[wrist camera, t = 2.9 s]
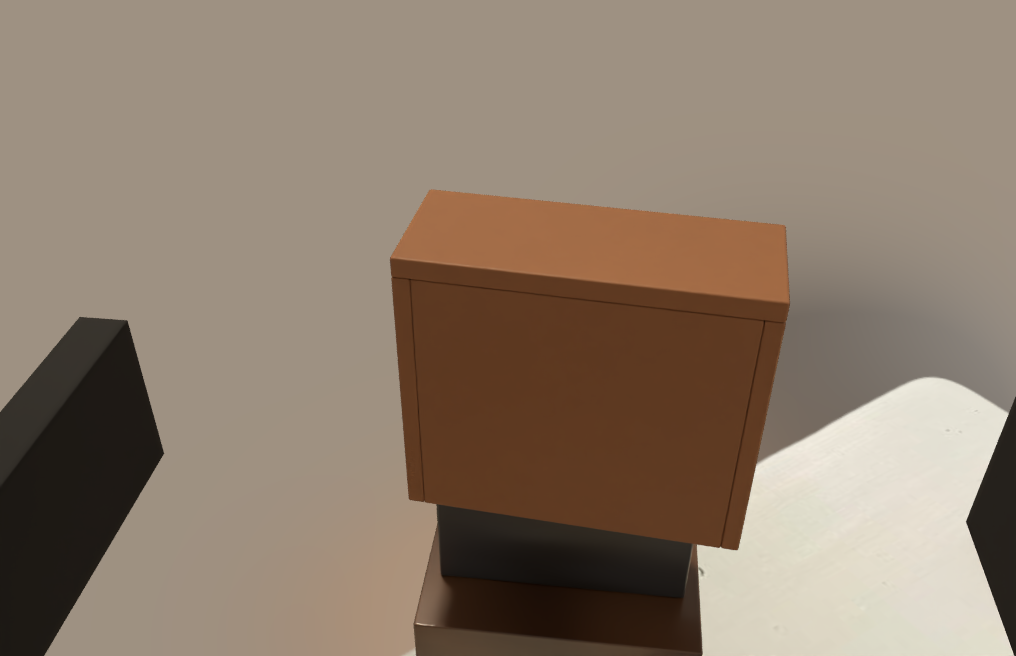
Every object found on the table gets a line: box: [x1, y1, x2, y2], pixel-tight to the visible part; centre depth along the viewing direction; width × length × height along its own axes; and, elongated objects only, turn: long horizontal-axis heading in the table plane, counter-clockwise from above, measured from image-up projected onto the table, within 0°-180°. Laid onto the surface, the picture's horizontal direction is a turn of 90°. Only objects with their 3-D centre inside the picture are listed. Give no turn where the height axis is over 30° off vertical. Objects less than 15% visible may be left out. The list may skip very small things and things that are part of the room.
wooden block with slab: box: [414, 504, 703, 656], centre depth 33 cm, size 9×6×26 cm, turn 83°
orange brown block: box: [390, 190, 790, 550], centre depth 27 cm, size 10×4×9 cm, turn 78°
